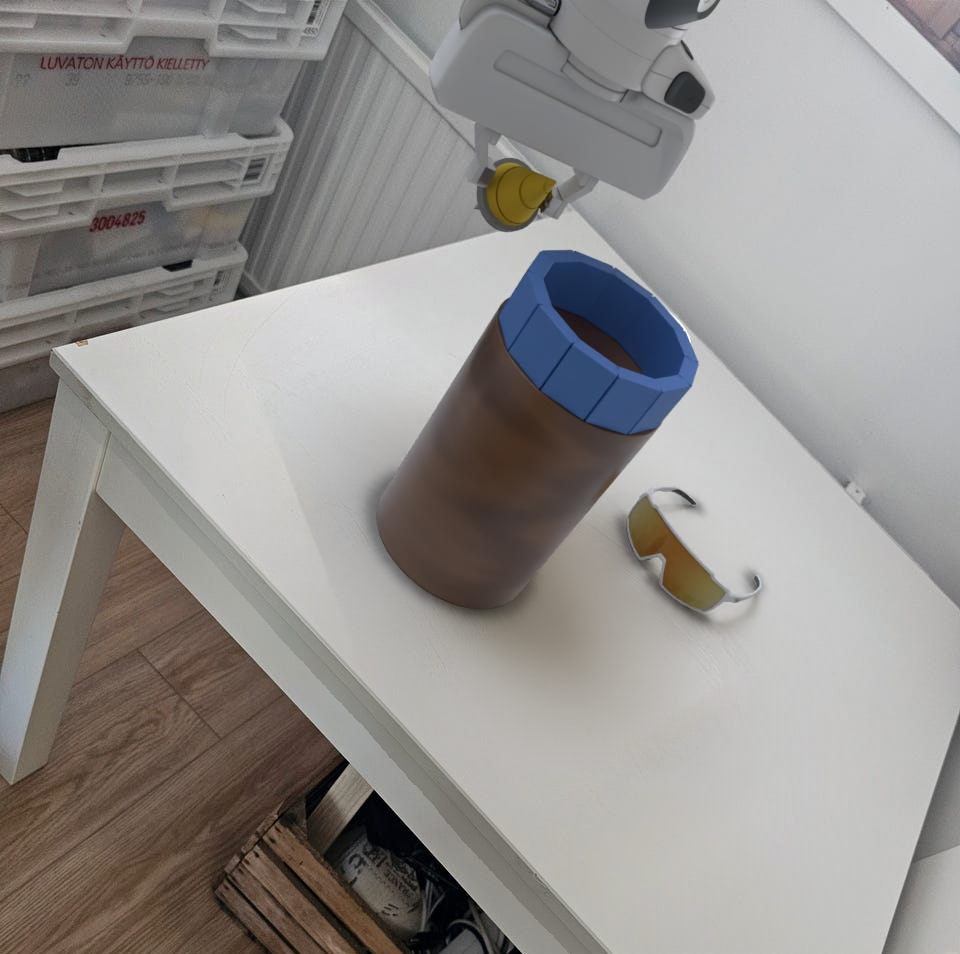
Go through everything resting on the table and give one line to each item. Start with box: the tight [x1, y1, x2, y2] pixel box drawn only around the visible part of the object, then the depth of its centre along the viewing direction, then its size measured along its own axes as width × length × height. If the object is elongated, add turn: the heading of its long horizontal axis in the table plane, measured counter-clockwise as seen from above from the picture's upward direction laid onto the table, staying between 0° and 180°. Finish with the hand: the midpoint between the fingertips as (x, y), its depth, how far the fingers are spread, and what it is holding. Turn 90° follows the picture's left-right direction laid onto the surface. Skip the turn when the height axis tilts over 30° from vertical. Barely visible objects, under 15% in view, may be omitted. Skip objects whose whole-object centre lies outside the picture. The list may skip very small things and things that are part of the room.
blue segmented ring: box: [499, 249, 700, 434], centre depth 71 cm, size 13×13×4 cm
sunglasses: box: [626, 485, 763, 614], centre depth 101 cm, size 14×15×5 cm
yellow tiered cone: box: [473, 157, 557, 233], centre depth 80 cm, size 5×5×10 cm
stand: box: [376, 296, 664, 610], centre depth 79 cm, size 14×14×20 cm
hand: (512, 197), depth 81 cm, fingers closed on yellow tiered cone, 5 cm apart
